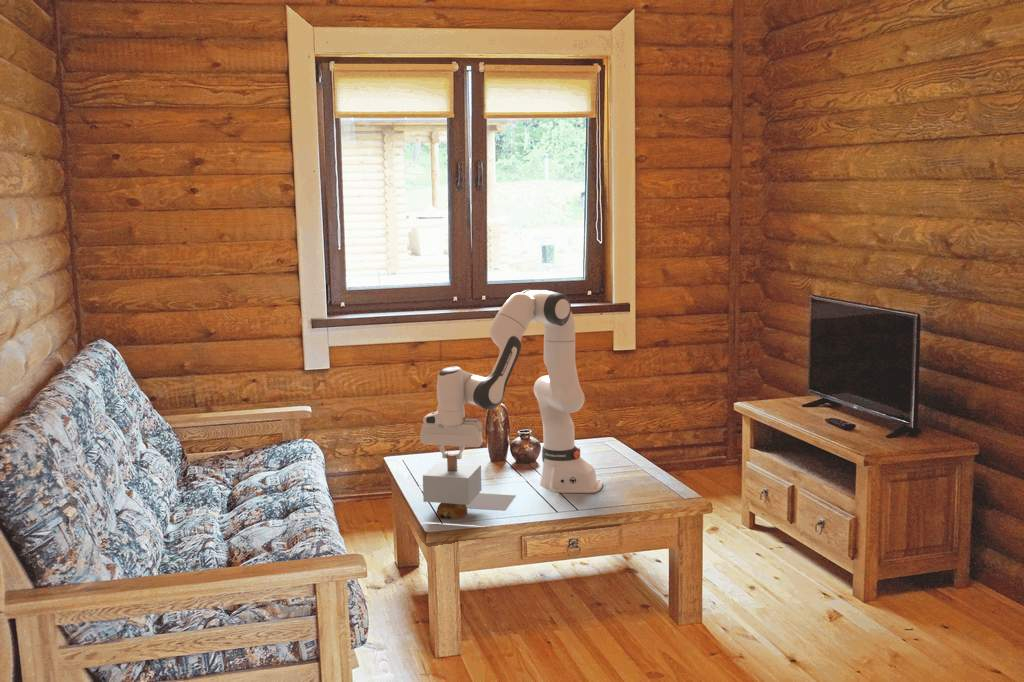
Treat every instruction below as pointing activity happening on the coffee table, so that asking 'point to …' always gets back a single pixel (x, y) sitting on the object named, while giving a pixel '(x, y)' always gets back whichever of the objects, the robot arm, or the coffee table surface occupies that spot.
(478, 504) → the mat
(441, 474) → the cover
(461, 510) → the bread roll
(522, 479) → the coffee table surface
